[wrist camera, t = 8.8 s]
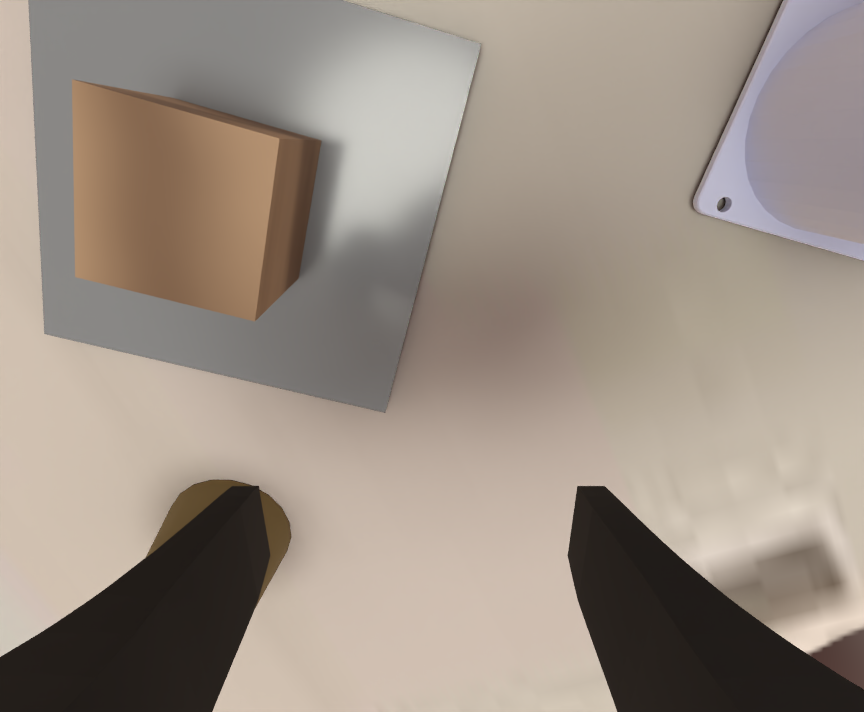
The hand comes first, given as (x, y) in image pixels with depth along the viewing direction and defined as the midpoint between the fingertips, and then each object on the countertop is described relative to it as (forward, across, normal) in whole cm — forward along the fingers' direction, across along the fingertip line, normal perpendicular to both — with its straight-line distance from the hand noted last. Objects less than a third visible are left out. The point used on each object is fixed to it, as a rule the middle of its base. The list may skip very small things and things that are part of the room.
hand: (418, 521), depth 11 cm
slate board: (+10, +7, -6) cm, 14 cm away
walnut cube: (+10, +7, -6) cm, 13 cm away
